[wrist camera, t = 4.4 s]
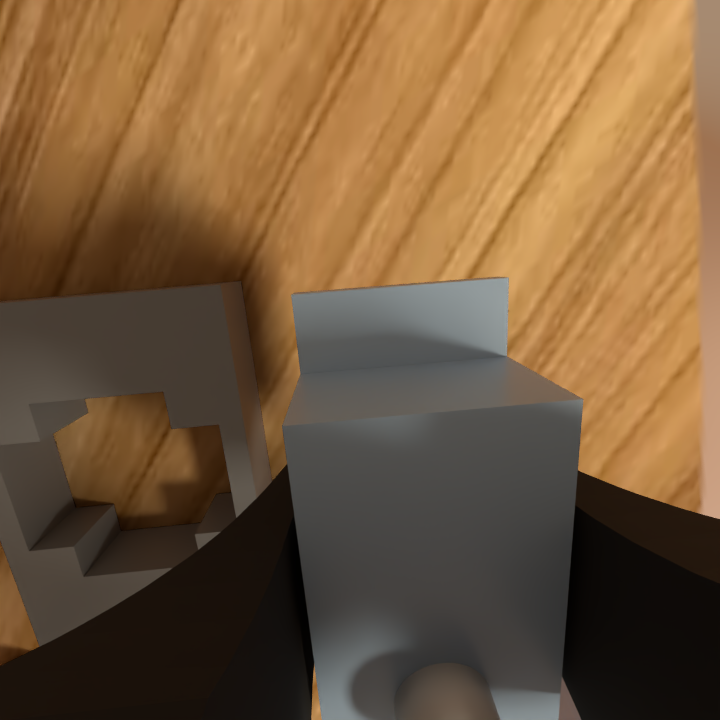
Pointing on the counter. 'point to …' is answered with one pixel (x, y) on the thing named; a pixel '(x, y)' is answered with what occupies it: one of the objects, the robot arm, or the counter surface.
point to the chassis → (67, 403)
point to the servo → (430, 505)
